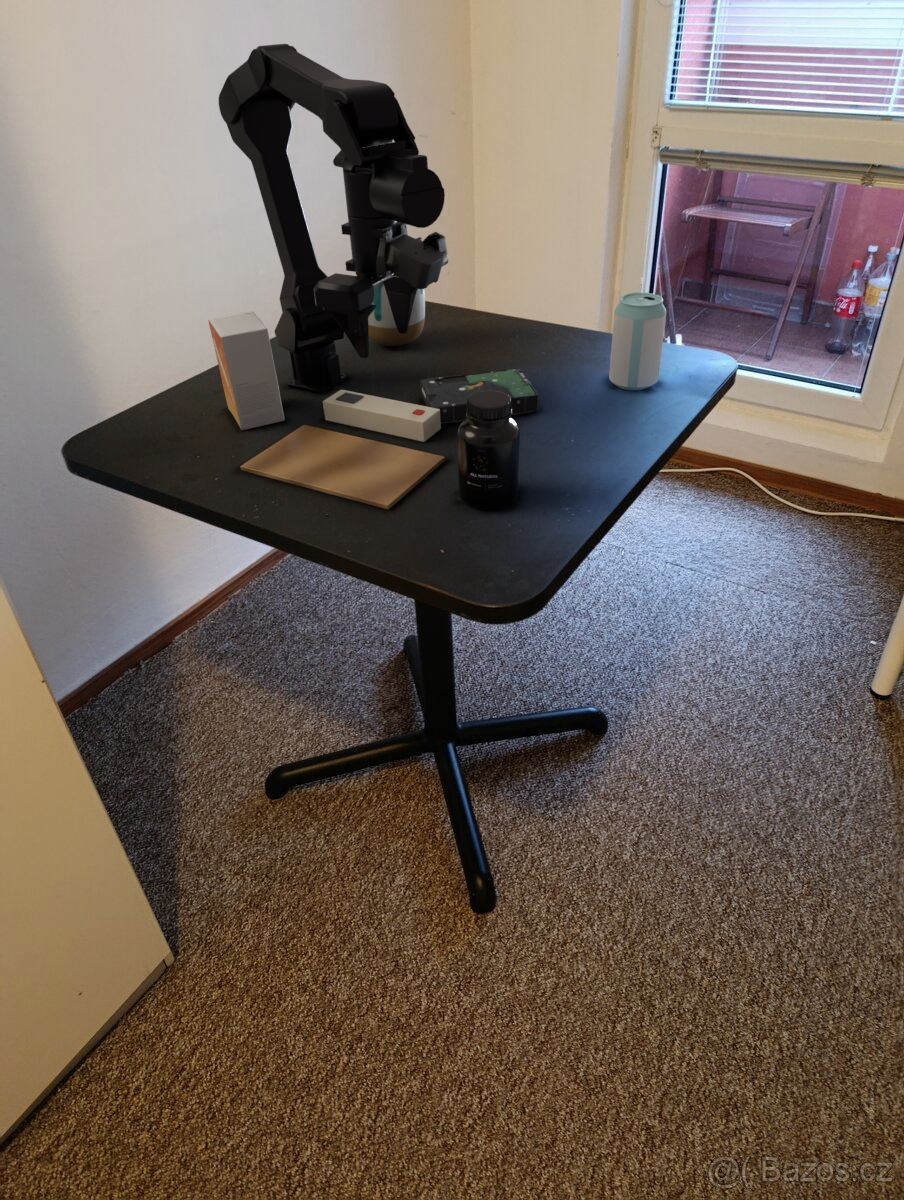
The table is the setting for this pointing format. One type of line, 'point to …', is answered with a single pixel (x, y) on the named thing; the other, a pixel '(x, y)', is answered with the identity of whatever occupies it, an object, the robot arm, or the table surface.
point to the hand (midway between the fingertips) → (383, 345)
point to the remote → (382, 415)
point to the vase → (383, 321)
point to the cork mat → (345, 465)
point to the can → (637, 341)
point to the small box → (247, 369)
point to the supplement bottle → (488, 452)
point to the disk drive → (456, 390)
